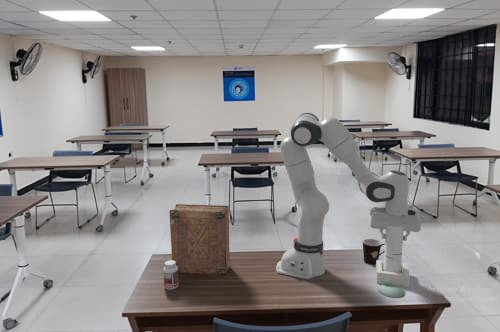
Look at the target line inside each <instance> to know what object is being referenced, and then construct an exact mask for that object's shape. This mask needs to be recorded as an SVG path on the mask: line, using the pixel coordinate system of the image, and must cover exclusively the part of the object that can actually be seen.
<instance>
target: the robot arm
mask: <svg viewBox="0 0 500 332" xmlns="http://www.w3.org/2000/svg"><path fill="white" fill-rule="evenodd" d="M319 142H322V143H323V144H324V145H325V146H326V148H327V149H328V151H329V152H330V153H331V154H332V155H333V156H334V157H335V158H336V159H337V160H338V161H339V162H342V163H343V164H344V165H346V166H347V167H348V168H349V169H350V171H351V172H352V174H353V175H354V176H355V177H356V179H357V182H358V183H357V184H358V187H359V190H360V191H361V193H363V194H364V195H365V197H366V198H367V199H368V200H370V201H371V202H373V203H384V202H385V204H384V207H378V206H377V207H376V206H375V207H373V208H371V209H369V210H370V213H369V214H370V217H371V218H370V227H371V228H372V229H376V230H379V232H380V235H381V239H383V240H385V237H386V233H384V230H386V229H387V228H388V225H395V226H403V232H406V233H405V235H404V234H403V242H404V241H405V242H406V241H407V239H408V237H409V235H410V234H411V232H413V233H419V232H420V231H421V230H422V229H421V228H422V227H421V219H420V216H419V210H418V208H417V207H416V206H413V205H411V204H408V194H409V188H410V187H409V184H410V183H409V181H410V180H409V176H408V175H407V174H406V173H404V172H402V171H399V170H389V171H388V172H387V173H385V174H384V175H381V176H379V175H378V174H376V173H374V172H372V171H371V170H369V168H368V167H367V165H366V164H365V163H364V162H363V159H361V156H360V154H359V151H360V147H359V145H358V143H357V141H356V139H355V138H354V136H353V135H352V133H351V132H350V131H349V130H348V128H347V127H346V126H345V125H344V124H343V123H342V122H341V121H340V120H339V119H337V118H336V117H334V116H333V117H332V116H330V117H326V118H324V119H323V120H321V121H320V119H319V118H318V117H317V115H315V114H313V113H312V112H304V113H301V114H300V115H299V116H297V118H296V119H295V120H294V122H293V124H292V126H291V128H290V136H287V137H285V138H284V139H282V141H281V142H280V146H279V147H280V153H281V158H282V161H283V164H284V166H285V170H286V172H287V175H288V178H289V181H290V183H291V184H290V185H291V188H292V193H293V196H294V200H295V203H296V204H297V206H299V207H300V210H301V215H300V220H299V222H298V225H297V236H295V237H294V239H293V246H292V248H289V249H287V250H286V251H285V252H284V253H283V254H282V256H281V259H280V260H279V261H278V262H277V264H276V267H275V271H276V272H277V274H282V275H286V276H291V277H294V278H295V277H296V278H299V279H304V280H310V279H312V278H315V277H319V276H322V275H324V274H325V272H326V268H325V264H324V256H323V254H324V240H323V235H324V234H323V233H324V232H323V230H324V229H323V228H324V222H325V219H326V215H327V214H328V212H329V210H330V203H329V200H328V199H327V196H326V195H325V194H324V193H323V192H321V191H320V190H319V189H318V186H317V184H316V180H315V179H316V178H315V171H314V167H313V165H312V163H311V159H310V156H309V154H308V151H307V147H308V146H312V145H313V144H317V143H319Z"/></svg>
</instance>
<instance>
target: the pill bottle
mask: <svg viewBox="0 0 500 332" xmlns="http://www.w3.org/2000/svg"><path fill="white" fill-rule="evenodd" d="M162 270H163V271H162V272H163V284H164V289H166V290H175V289H177V288H178V287H179V286H180V281H179V280H180V279H179V273H178V267H177V266H176V262H175V261H174V260H172V259H170V260H167V261H165V262H164V267H163V269H162Z"/></svg>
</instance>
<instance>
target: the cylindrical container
mask: <svg viewBox="0 0 500 332" xmlns="http://www.w3.org/2000/svg"><path fill="white" fill-rule="evenodd" d="M385 234H386V237H385V239H384V244H385V245H384V250H385V252H384V253H383V255H384V256H383V261H384V269H383V271H386V272H396V273H401V262H402V258H403V257H402V256H403V243H404V241H403V235H404V231H403V226H395V225H388V228H387V229H385Z"/></svg>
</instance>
